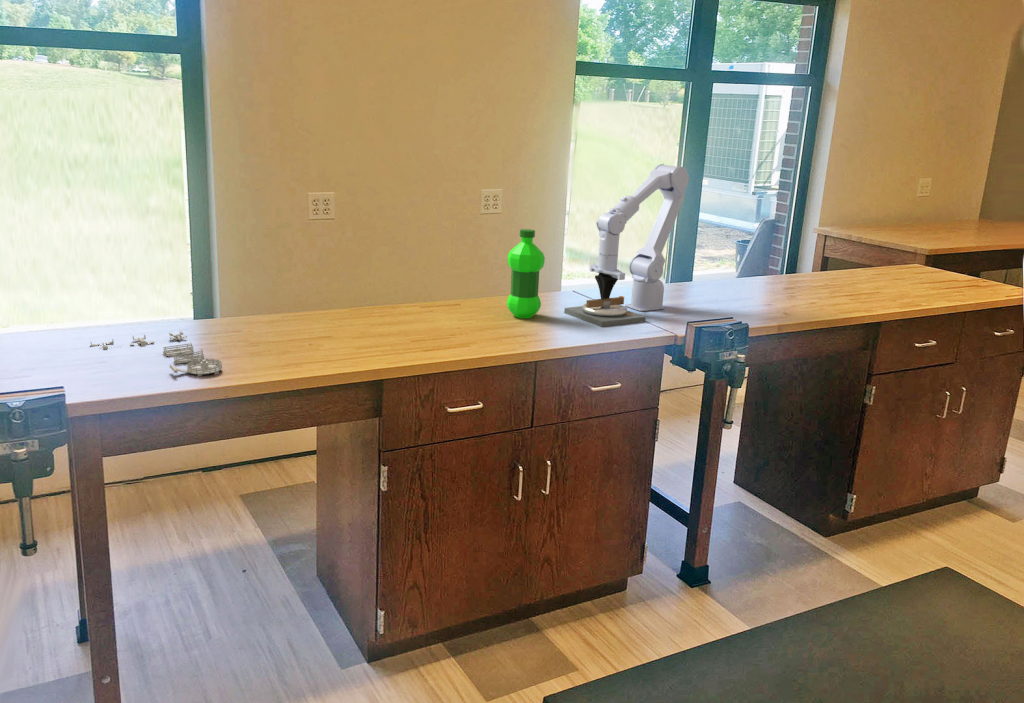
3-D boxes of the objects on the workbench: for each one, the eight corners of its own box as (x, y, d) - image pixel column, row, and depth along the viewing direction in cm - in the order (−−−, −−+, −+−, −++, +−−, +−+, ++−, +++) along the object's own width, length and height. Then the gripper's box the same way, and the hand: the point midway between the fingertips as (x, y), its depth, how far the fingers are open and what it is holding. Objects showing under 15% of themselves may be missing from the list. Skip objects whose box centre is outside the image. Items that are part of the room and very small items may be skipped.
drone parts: (111, 393, 180) (109, 378, 179) (86, 351, 208) (84, 338, 207) (226, 374, 192) (225, 360, 191) (187, 337, 220) (186, 325, 219)
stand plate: (607, 308, 270) (607, 302, 270) (645, 321, 256) (646, 315, 255) (564, 312, 262) (564, 307, 261) (601, 326, 247) (602, 321, 247)
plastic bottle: (510, 321, 249) (514, 232, 242) (502, 312, 259) (506, 227, 252) (544, 320, 251) (549, 233, 245) (535, 311, 261) (539, 227, 254)
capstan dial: (608, 304, 267) (609, 292, 266) (636, 314, 256) (637, 301, 255) (573, 308, 260) (574, 295, 259) (600, 318, 250) (601, 304, 248)
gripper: (582, 250, 264) (579, 295, 268) (613, 259, 252) (609, 305, 256) (601, 249, 268) (598, 293, 271) (632, 257, 256) (628, 303, 260)
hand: (604, 299), depth 264 cm, fingers closed
